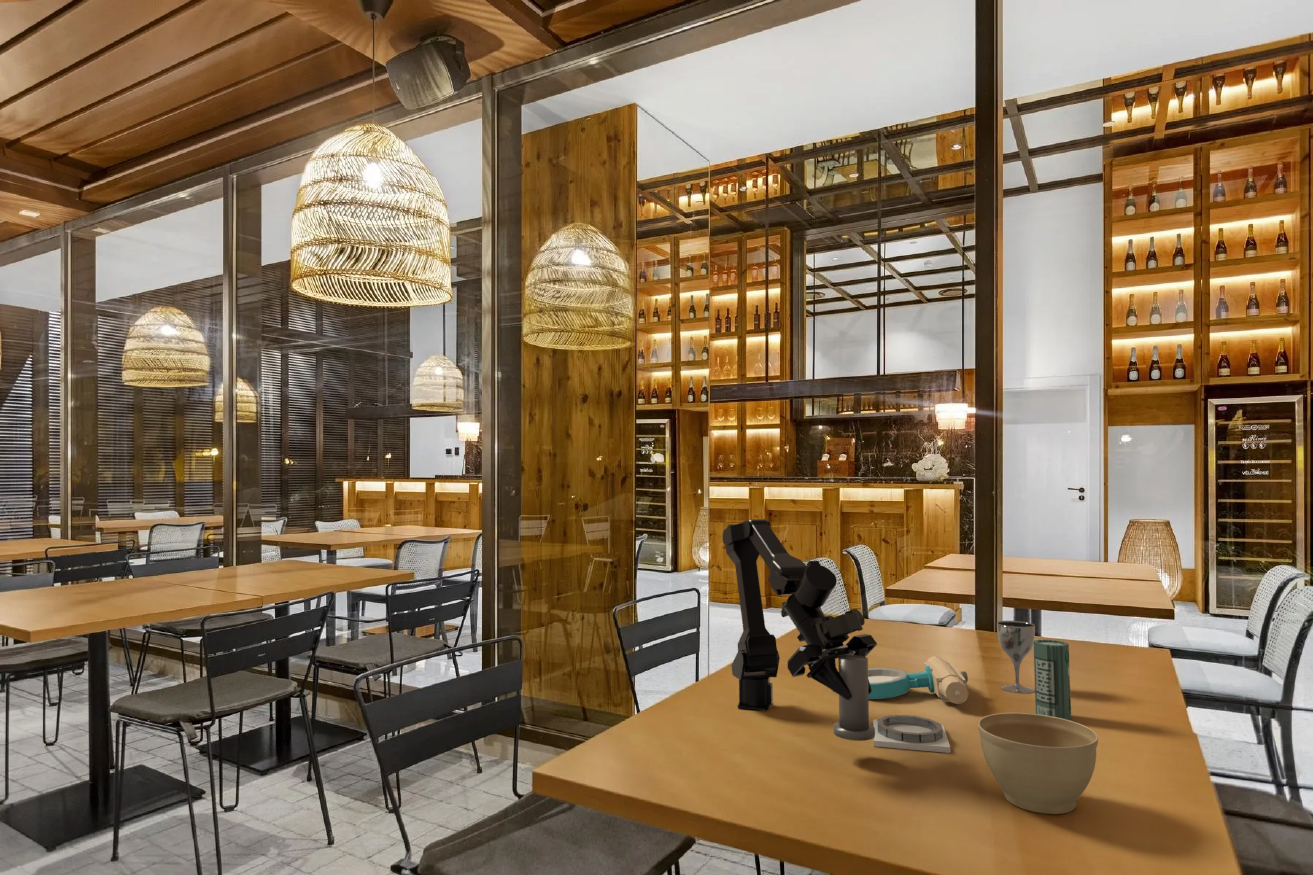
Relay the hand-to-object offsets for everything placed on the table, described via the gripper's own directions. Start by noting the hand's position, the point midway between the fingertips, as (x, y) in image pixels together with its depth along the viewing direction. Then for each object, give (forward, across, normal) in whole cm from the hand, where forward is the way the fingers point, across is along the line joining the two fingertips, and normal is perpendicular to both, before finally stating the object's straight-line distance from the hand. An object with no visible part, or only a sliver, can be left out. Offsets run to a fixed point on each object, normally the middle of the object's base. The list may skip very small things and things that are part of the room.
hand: (860, 695), depth 131 cm
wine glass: (+3, +66, +13) cm, 67 cm away
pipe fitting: (+4, 0, +6) cm, 7 cm away
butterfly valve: (-7, +41, +24) cm, 48 cm away
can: (+14, +51, +2) cm, 53 cm away
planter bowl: (+27, +8, -11) cm, 30 cm away
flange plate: (+6, +17, +9) cm, 20 cm away
